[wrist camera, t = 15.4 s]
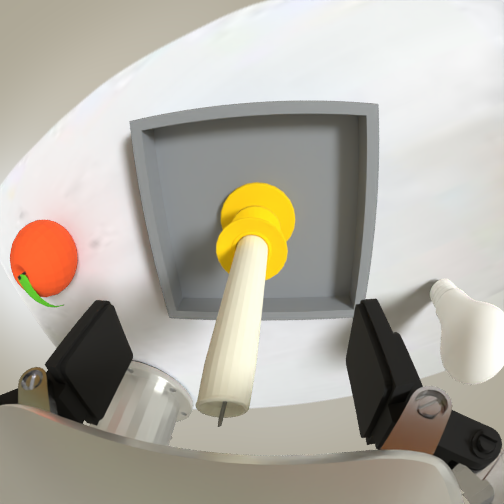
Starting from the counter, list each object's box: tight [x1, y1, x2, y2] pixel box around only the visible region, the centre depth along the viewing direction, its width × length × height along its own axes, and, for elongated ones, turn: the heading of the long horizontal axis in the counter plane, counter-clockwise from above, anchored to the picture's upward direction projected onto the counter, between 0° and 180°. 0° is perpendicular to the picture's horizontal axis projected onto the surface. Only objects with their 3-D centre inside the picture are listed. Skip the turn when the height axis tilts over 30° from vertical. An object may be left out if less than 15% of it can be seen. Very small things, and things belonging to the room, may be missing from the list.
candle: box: [196, 182, 295, 427], centre depth 13 cm, size 5×5×16 cm
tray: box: [130, 101, 379, 320], centre depth 20 cm, size 16×16×2 cm
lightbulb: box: [430, 279, 504, 385], centre depth 17 cm, size 6×6×11 cm
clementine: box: [10, 220, 77, 307], centre depth 21 cm, size 8×7×7 cm
